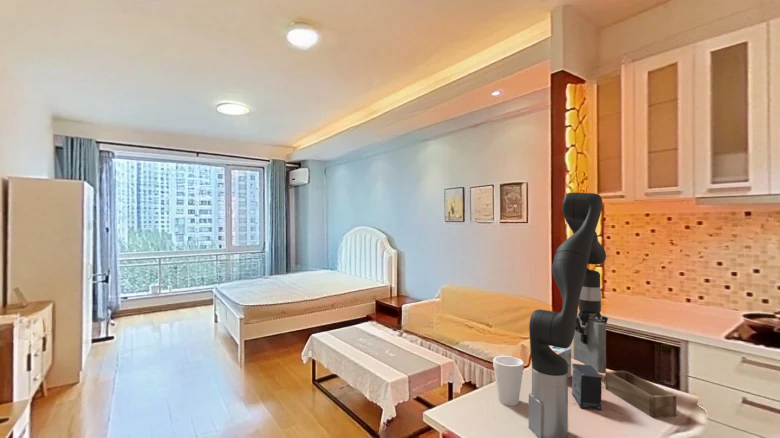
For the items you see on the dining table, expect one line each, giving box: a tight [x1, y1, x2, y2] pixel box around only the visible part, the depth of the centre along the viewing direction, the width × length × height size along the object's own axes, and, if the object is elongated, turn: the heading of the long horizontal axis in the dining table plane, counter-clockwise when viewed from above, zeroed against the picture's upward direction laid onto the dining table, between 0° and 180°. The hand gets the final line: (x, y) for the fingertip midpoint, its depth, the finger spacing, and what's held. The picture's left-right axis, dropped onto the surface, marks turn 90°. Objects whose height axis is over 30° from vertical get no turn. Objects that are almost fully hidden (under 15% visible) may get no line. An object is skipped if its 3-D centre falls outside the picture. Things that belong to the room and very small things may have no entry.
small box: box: [571, 363, 603, 411], centre depth 124 cm, size 11×6×10 cm, turn 168°
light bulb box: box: [549, 345, 572, 378], centre depth 144 cm, size 11×7×11 cm, turn 130°
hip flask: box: [572, 313, 607, 374], centre depth 145 cm, size 16×4×20 cm, turn 10°
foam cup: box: [492, 355, 525, 407], centre depth 124 cm, size 10×9×13 cm
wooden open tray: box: [604, 370, 677, 419], centre depth 124 cm, size 8×20×6 cm, turn 8°
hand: (589, 343), depth 144 cm, fingers closed on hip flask, 4 cm apart
